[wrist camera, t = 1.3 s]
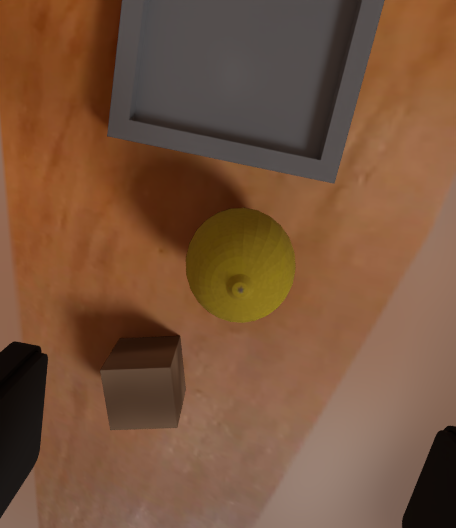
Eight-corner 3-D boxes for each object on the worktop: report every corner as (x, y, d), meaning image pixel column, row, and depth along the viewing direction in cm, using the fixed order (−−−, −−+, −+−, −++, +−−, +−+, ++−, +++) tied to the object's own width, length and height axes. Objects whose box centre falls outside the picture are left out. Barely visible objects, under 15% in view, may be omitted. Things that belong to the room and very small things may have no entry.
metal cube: (119, 338, 27) (100, 370, 23) (180, 335, 27) (170, 367, 23) (128, 390, 28) (110, 430, 24) (186, 388, 28) (177, 427, 24)
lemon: (281, 290, 26) (298, 354, 18) (193, 283, 26) (172, 344, 18) (291, 201, 24) (314, 230, 16) (196, 194, 24) (176, 220, 17)
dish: (149, -120, 20) (138, -151, 18) (391, -65, 20) (408, -89, 18) (119, 136, 23) (107, 136, 21) (326, 179, 24) (334, 183, 22)
